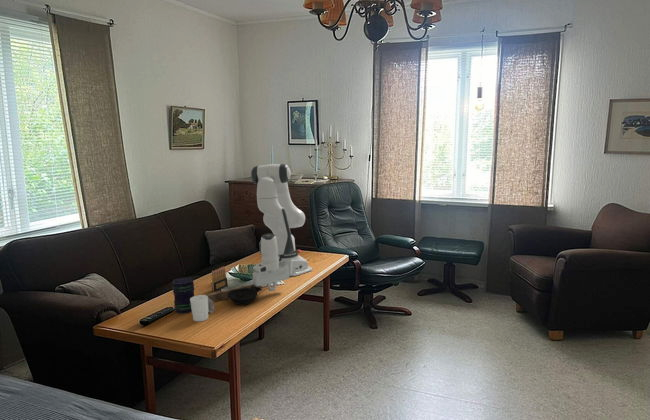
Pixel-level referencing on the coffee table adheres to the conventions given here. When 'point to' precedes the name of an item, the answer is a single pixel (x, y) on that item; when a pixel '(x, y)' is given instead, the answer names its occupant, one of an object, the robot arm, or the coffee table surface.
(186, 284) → the storage jar
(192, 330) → the coffee table surface
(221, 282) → the ammunition clip
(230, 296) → the oil lamp
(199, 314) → the white cup
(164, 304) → the coffee table surface
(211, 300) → the bracket
